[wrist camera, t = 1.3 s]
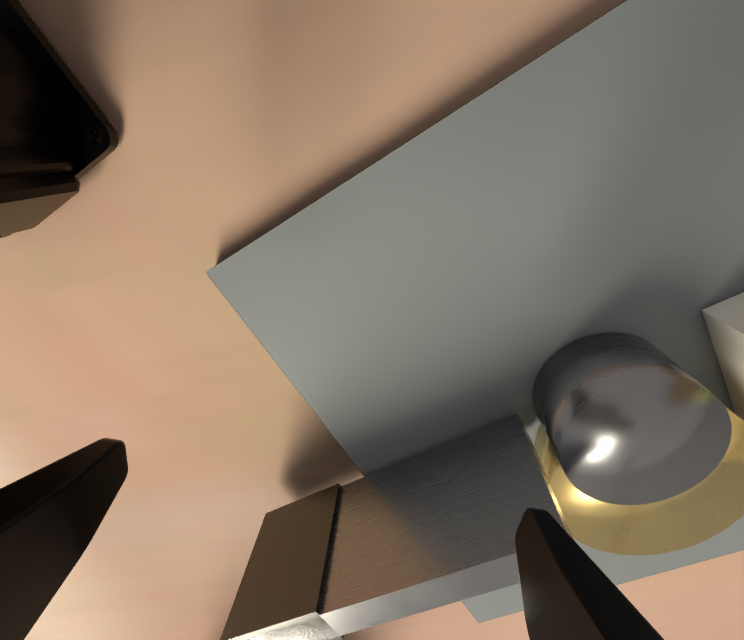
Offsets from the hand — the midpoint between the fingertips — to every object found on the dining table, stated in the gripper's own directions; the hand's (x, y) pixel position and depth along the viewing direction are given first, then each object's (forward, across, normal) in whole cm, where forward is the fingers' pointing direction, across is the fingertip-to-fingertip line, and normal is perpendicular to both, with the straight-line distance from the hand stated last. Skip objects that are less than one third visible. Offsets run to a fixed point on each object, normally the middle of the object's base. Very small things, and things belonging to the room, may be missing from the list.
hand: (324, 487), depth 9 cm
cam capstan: (+7, -6, +5) cm, 10 cm away
